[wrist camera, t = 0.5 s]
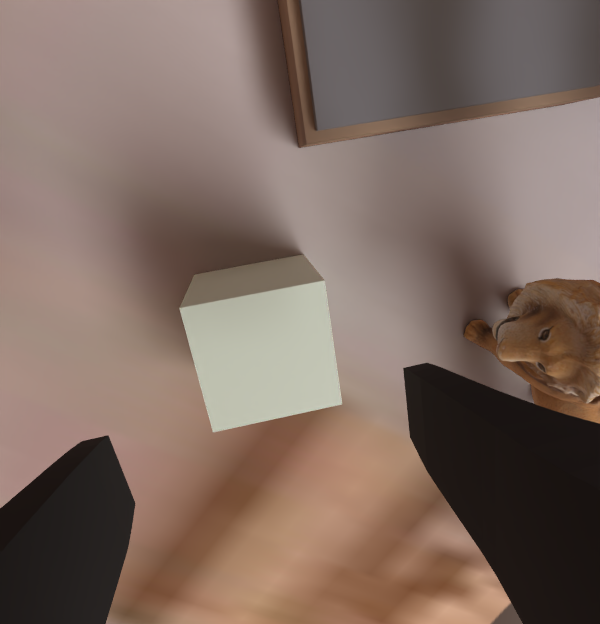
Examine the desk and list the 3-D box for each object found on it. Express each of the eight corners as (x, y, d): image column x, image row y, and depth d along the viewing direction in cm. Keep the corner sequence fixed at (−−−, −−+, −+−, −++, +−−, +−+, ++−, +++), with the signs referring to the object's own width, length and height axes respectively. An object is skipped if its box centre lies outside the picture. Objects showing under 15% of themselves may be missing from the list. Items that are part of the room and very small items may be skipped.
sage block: (303, 254, 19) (324, 280, 14) (318, 351, 20) (342, 404, 16) (194, 274, 18) (179, 308, 14) (219, 372, 20) (212, 432, 15)
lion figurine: (409, 280, 20) (535, 359, 11) (505, 223, 20) (707, 259, 11) (508, 479, 25) (646, 634, 16) (585, 435, 25) (765, 570, 16)
